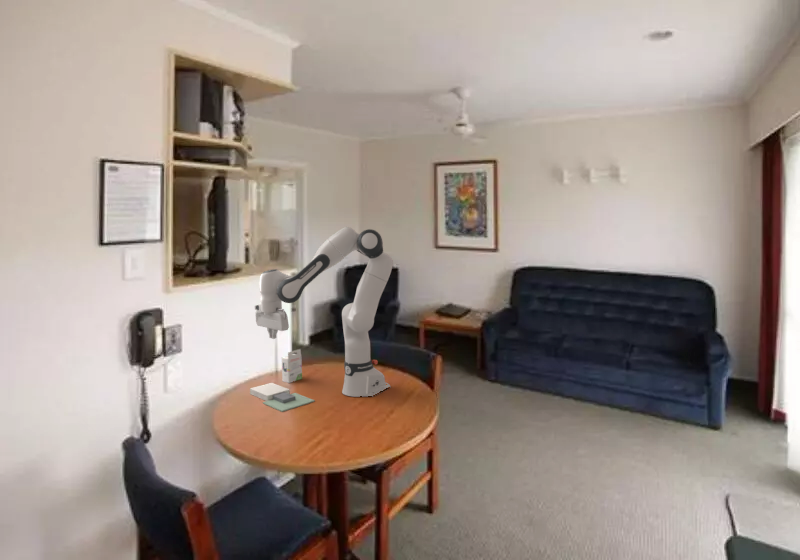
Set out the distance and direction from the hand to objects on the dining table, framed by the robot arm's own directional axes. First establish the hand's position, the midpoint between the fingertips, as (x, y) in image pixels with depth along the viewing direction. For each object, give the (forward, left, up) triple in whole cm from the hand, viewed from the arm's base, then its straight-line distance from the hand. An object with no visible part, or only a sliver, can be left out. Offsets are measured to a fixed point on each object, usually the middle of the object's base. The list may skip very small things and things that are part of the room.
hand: (272, 338), depth 216 cm
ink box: (-15, -9, -25) cm, 31 cm away
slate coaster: (+3, +12, -24) cm, 27 cm away
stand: (+3, +1, -25) cm, 25 cm away
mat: (+3, +15, -25) cm, 29 cm away
